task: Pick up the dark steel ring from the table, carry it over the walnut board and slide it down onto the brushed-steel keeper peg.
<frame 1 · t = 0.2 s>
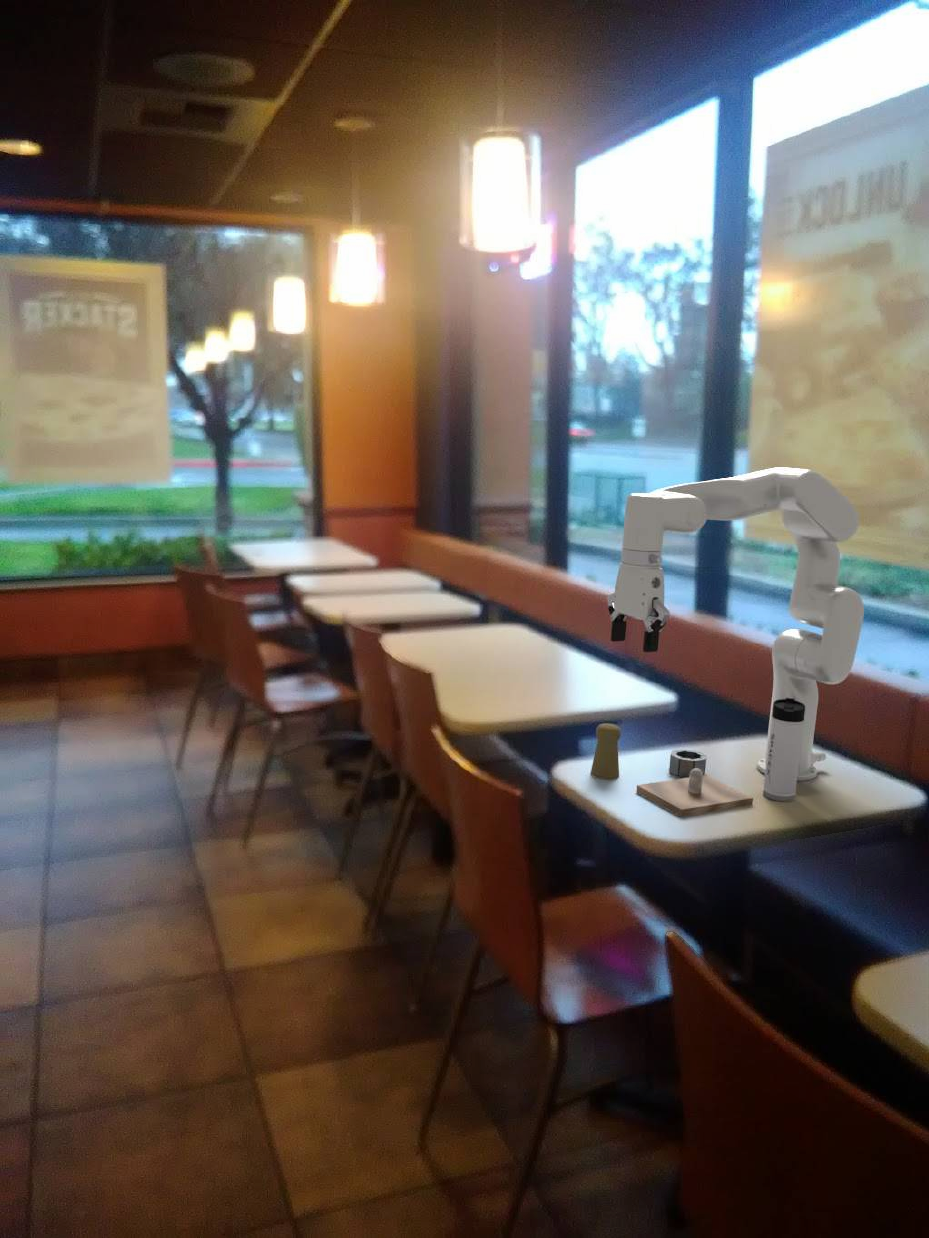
hand: (633, 646, 199), 31 cm above the table, tool pointing down, fingers open, 9 cm apart
cork: (604, 775, 217), on the table
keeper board: (693, 798, 205), on the table
travel mug: (778, 796, 209), on the table
steel ring: (687, 772, 221), on the table
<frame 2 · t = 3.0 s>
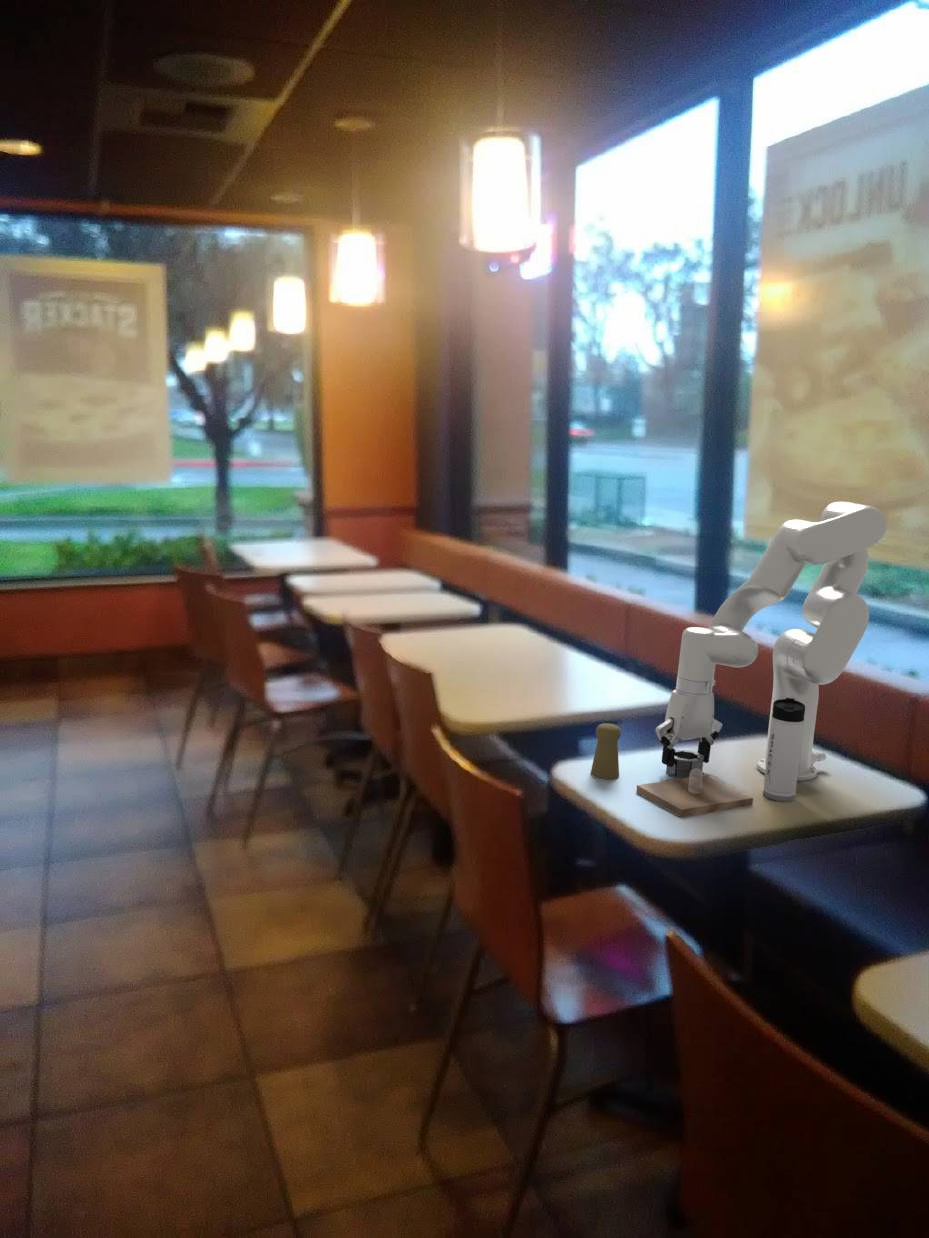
hand: (685, 762, 220), 2 cm above the table, tool pointing down, fingers open, 9 cm apart
nothing on the table moved.
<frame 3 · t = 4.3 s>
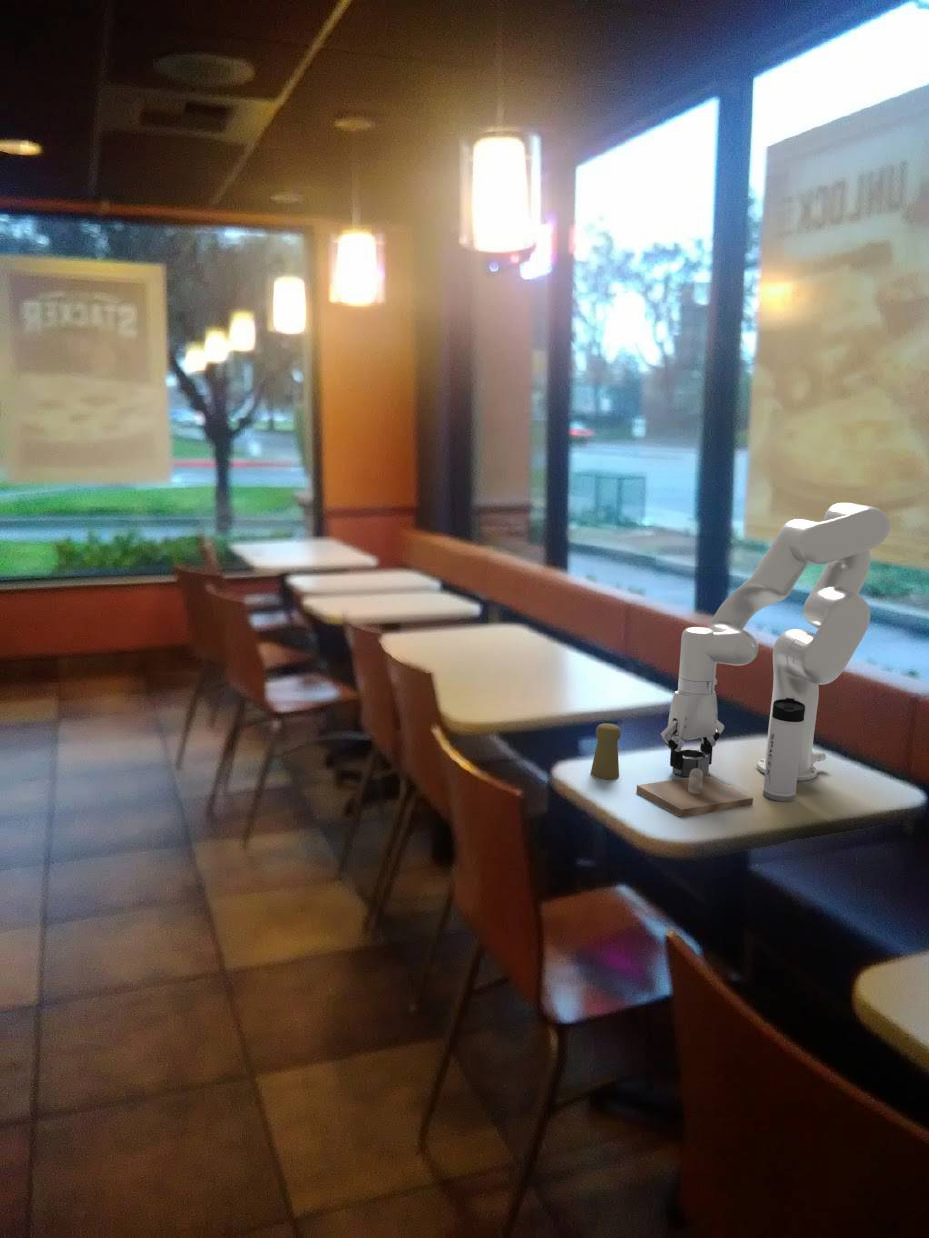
hand: (690, 764, 220), 2 cm above the table, tool pointing down, fingers closed on steel ring, 7 cm apart
steel ring: (690, 771, 221), on the table, touching gripper
everything else where it was.
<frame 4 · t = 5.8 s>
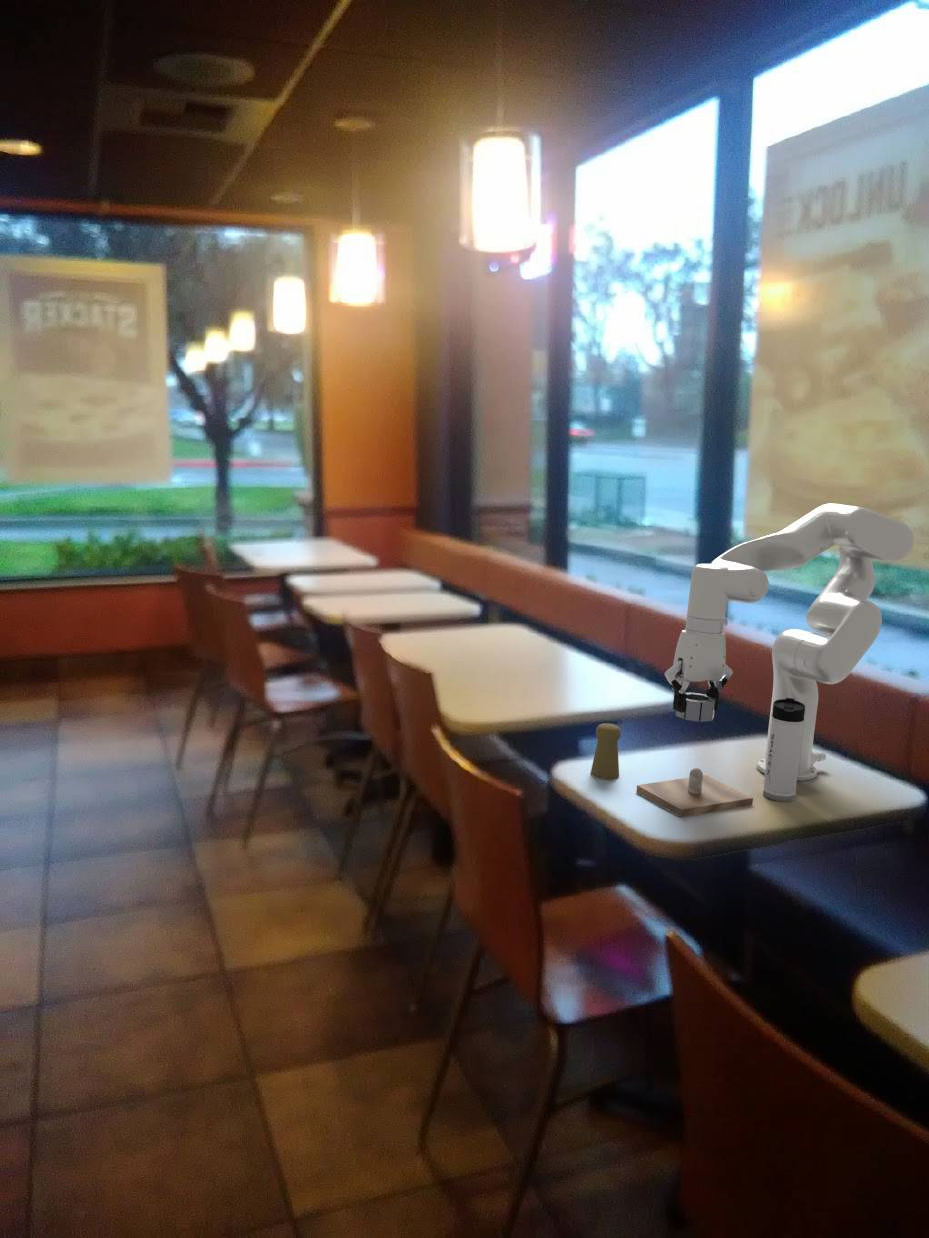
hand: (694, 709, 210), 16 cm above the table, tool pointing down, fingers closed on steel ring, 7 cm apart
steel ring: (694, 716, 210), point 15 cm above the table, touching gripper
everything else where it was.
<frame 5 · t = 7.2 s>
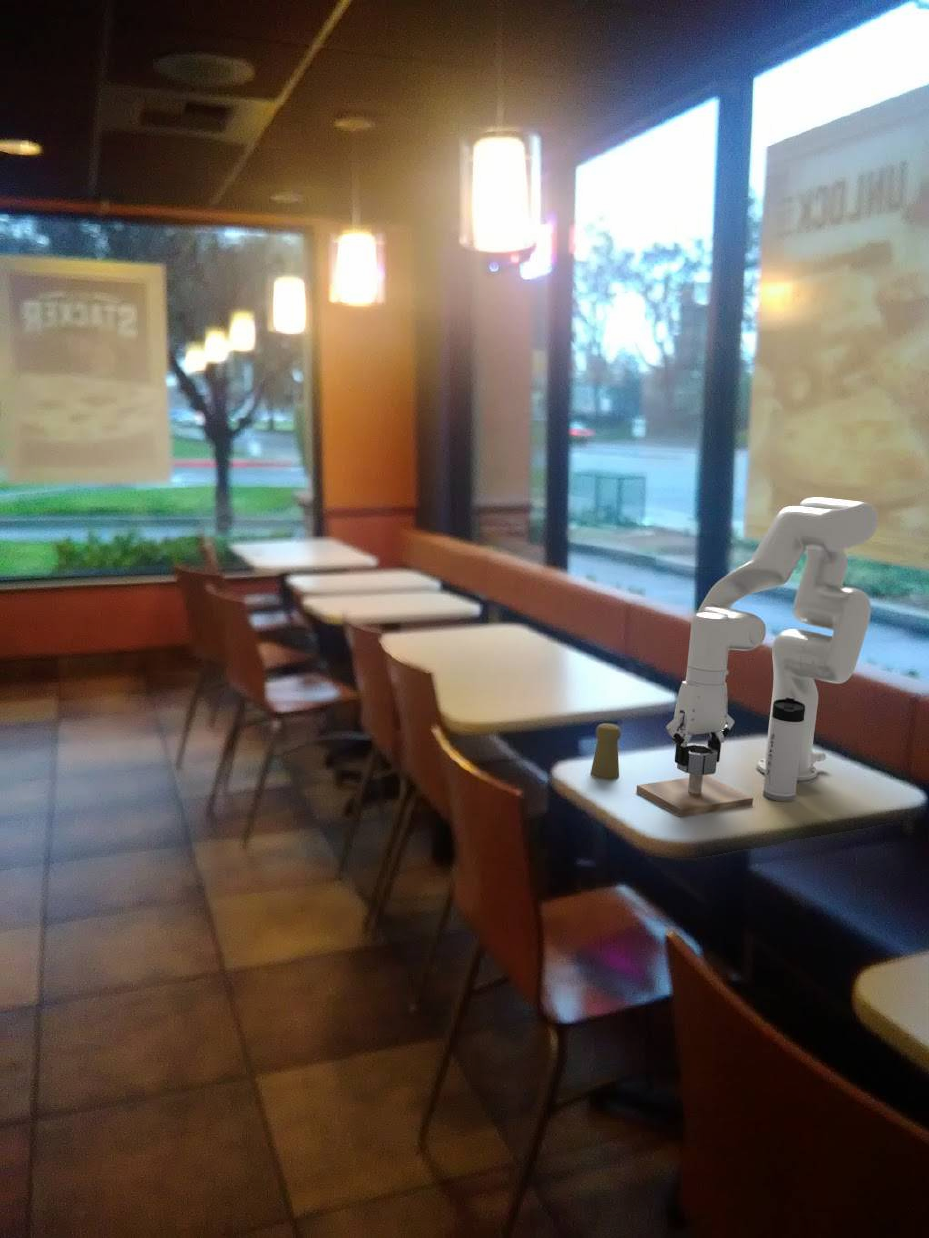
hand: (696, 761, 204), 8 cm above the table, tool pointing down, fingers closed on steel ring, 7 cm apart
steel ring: (696, 768, 204), point 6 cm above the table, touching gripper
everything else where it was.
when the fingers open (5 cm above the table, at t = 8.3 s): steel ring drops 2 cm, resting on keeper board.
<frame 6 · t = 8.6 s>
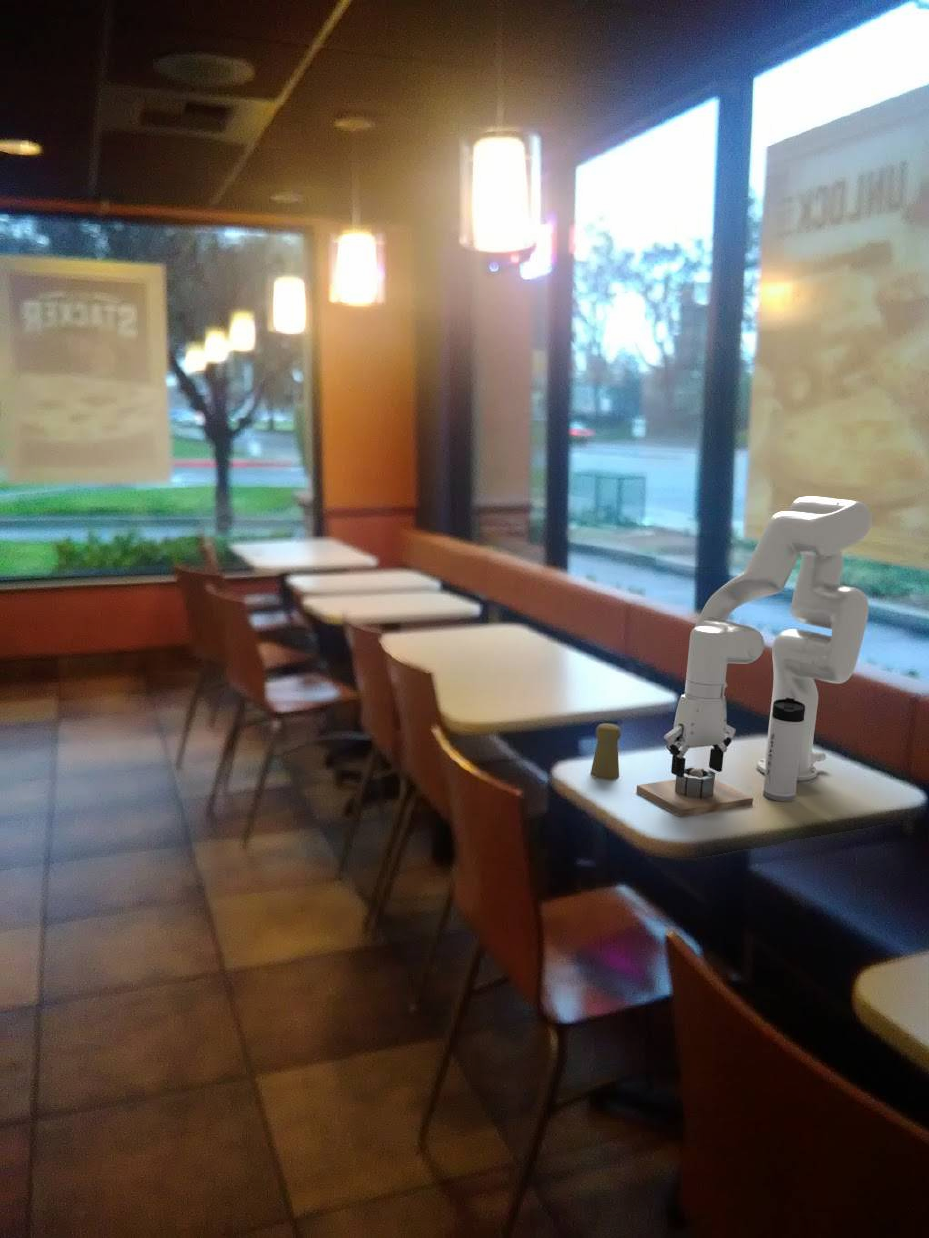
hand: (696, 772, 204), 5 cm above the table, tool pointing down, fingers open, 9 cm apart
steel ring: (694, 791, 205), point 1 cm above the table, touching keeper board
everything else where it was.
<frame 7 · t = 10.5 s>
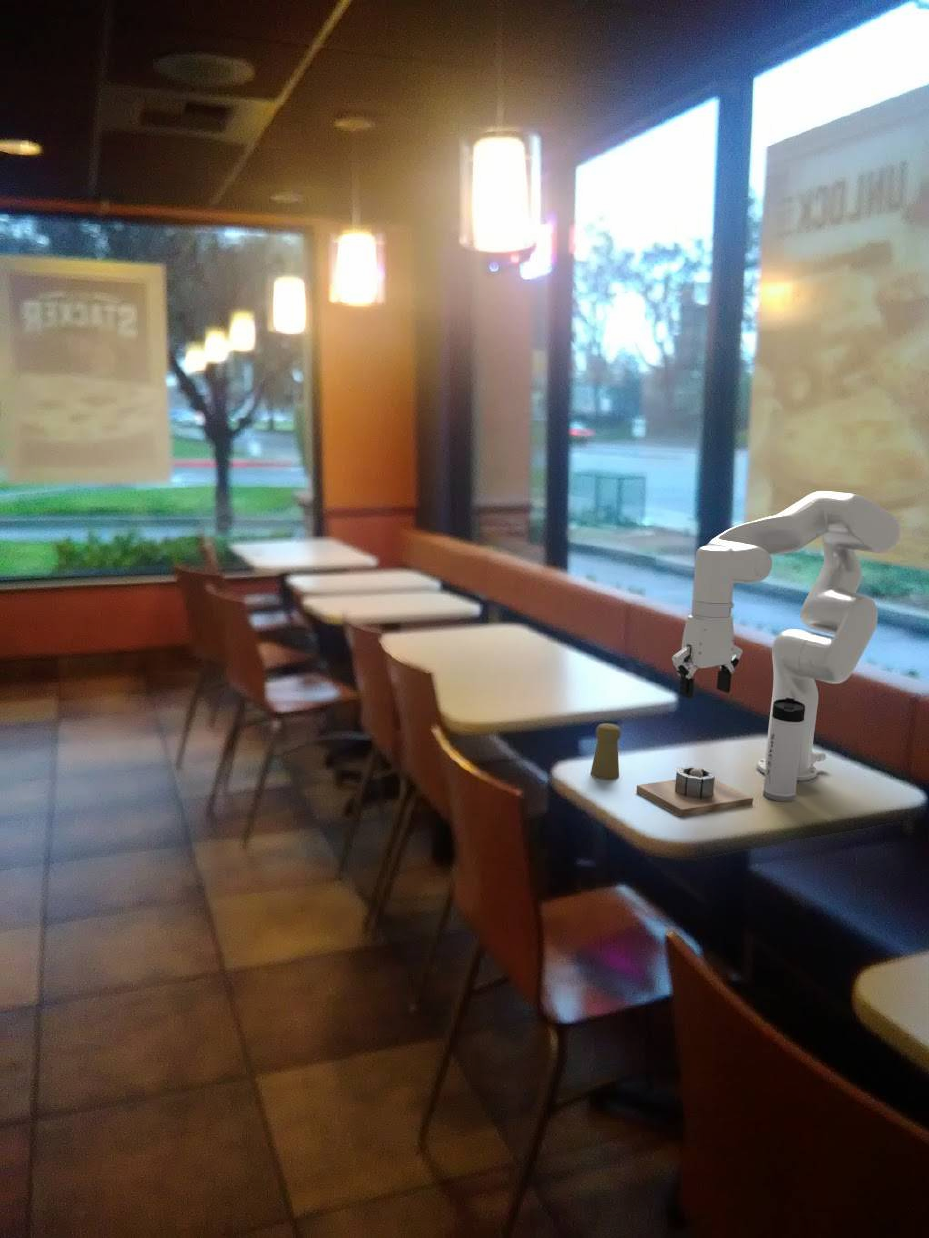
hand: (704, 693, 204), 21 cm above the table, tool pointing down, fingers open, 9 cm apart
nothing on the table moved.
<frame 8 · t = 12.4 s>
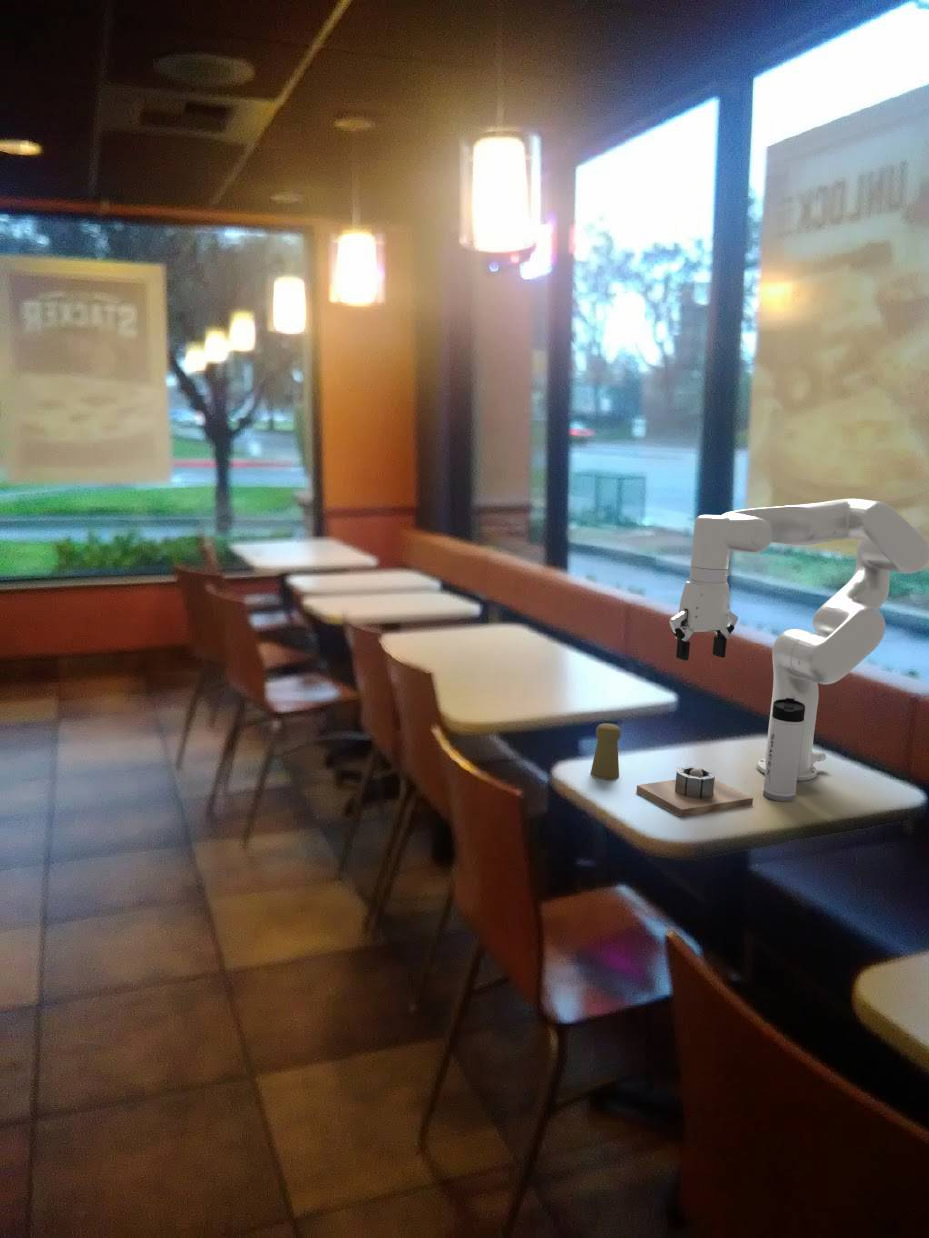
hand: (700, 657, 212), 26 cm above the table, tool pointing down, fingers open, 9 cm apart
nothing on the table moved.
at the end: steel ring 0.2 cm from the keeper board (horizontally); steel ring point 1.5 cm above the table; the gripper is holding nothing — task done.
